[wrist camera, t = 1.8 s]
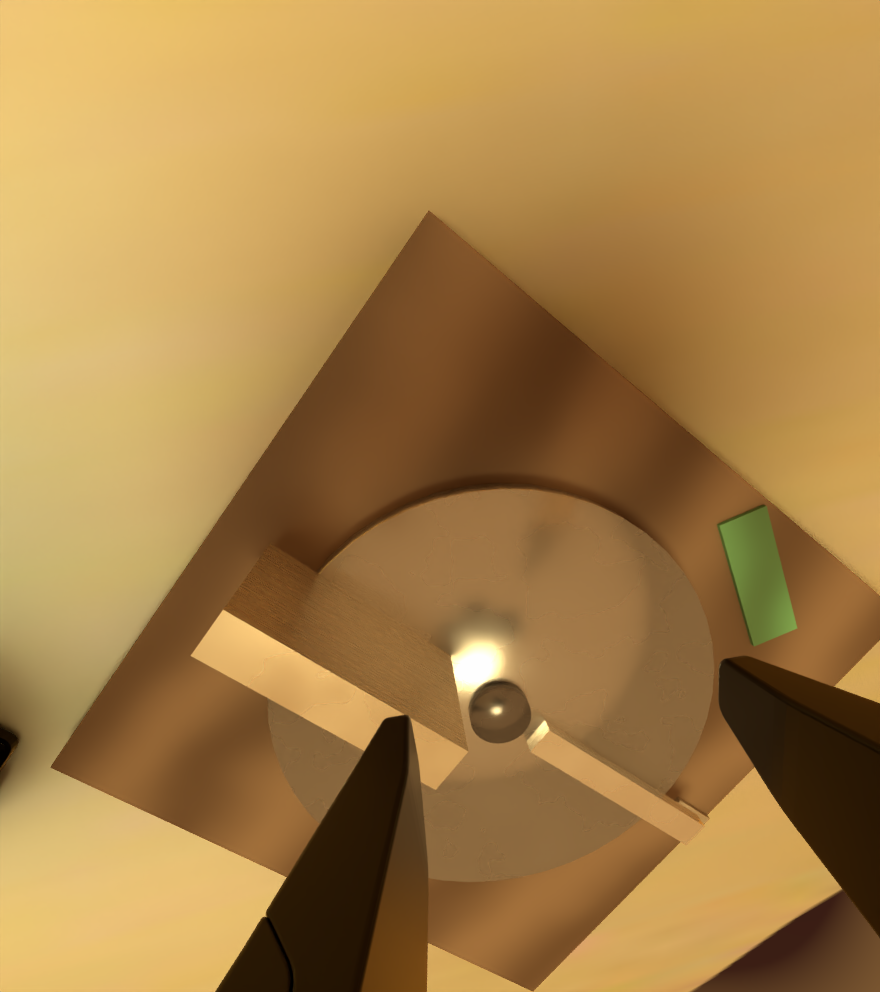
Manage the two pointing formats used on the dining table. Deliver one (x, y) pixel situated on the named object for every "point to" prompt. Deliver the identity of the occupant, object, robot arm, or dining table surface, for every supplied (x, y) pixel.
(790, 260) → the dining table surface
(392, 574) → the dial
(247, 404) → the dining table surface
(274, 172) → the dining table surface
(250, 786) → the board
